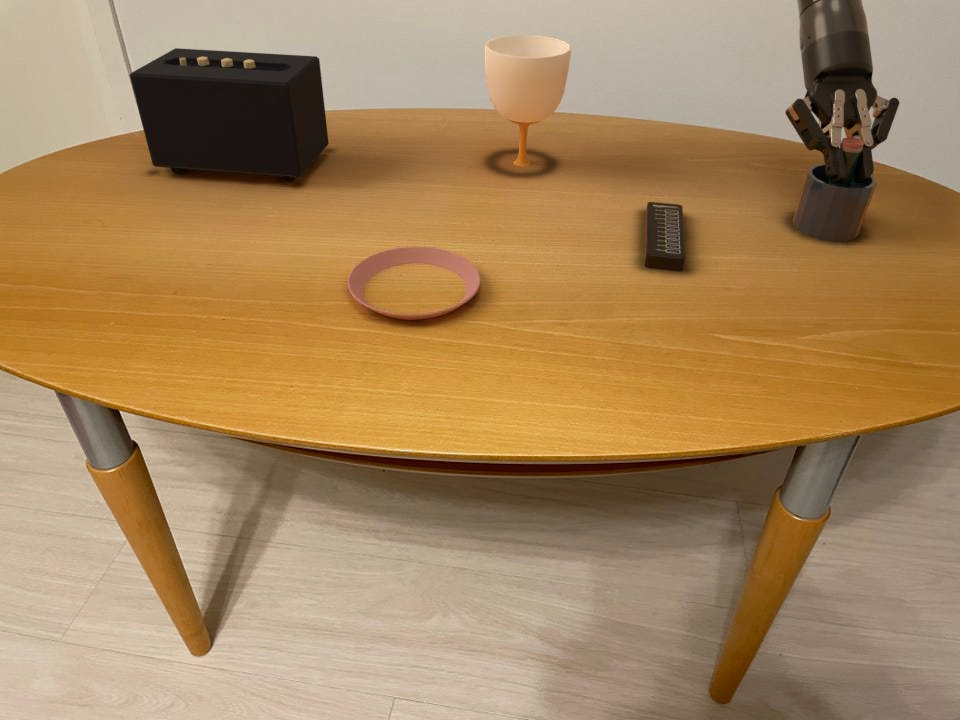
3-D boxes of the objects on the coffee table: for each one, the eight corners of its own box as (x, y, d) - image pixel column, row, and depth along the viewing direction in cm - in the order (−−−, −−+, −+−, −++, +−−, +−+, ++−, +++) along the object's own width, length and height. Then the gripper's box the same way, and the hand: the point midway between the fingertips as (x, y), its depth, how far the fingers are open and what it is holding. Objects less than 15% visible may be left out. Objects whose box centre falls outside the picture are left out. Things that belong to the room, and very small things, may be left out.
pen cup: (854, 223, 97) (874, 168, 92) (858, 250, 91) (879, 193, 86) (791, 213, 99) (807, 159, 94) (791, 239, 93) (808, 183, 88)
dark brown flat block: (643, 272, 86) (646, 254, 84) (644, 217, 97) (647, 200, 96) (682, 276, 85) (685, 258, 84) (679, 220, 96) (682, 204, 95)
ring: (492, 323, 77) (493, 307, 76) (353, 337, 74) (352, 321, 73) (467, 256, 88) (467, 241, 87) (345, 267, 86) (343, 251, 84)
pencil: (843, 201, 93) (863, 138, 88) (844, 209, 91) (865, 146, 86) (821, 197, 94) (841, 135, 89) (822, 206, 92) (842, 143, 87)
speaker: (330, 154, 113) (319, 50, 103) (302, 188, 102) (286, 77, 93) (195, 144, 115) (173, 41, 106) (154, 177, 105) (126, 67, 96)
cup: (550, 188, 104) (561, 61, 94) (471, 176, 107) (472, 52, 96) (569, 157, 113) (580, 39, 103) (495, 147, 116) (498, 31, 105)
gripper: (794, 28, 86) (811, 170, 84) (908, 27, 88) (927, 167, 85) (765, 62, 94) (779, 193, 91) (870, 61, 95) (887, 191, 93)
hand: (851, 180), depth 88 cm, fingers closed on pencil, 2 cm apart
